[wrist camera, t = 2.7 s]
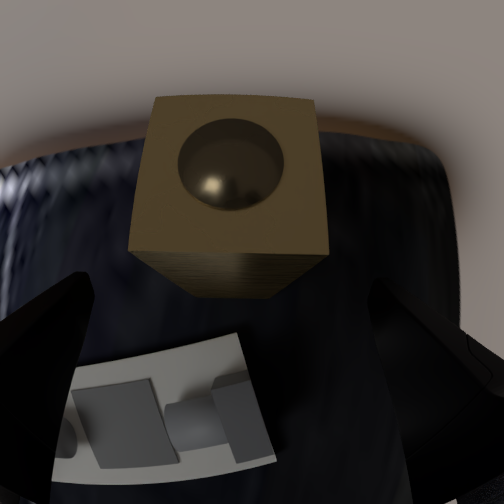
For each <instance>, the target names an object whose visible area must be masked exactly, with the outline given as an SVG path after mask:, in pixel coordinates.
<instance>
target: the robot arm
mask: <svg viewBox="0 0 504 504" xmlns="http://www.w3.org/2000/svg"><path fill="white" fill-rule="evenodd" d="M94 297H95V295H94V290H93V287H92V284H91V281H90V278H89V275H88V273H86V272H79V271H76V272H74V273H72V274H71V275H69V276H67V277H66V278H64V279H63V280H61V281H60V282H58V283H56V284H55V285H53V286H52V287H50V288H49V289H47V290H46V291H44V292H43V293H41V294H40V295H38V296H37V297H35V298H34V299H32V300H31V301H29V302H28V303H26V304H25V305H23V306H22V307H20V308H19V309H17V310H16V311H15V312H13V313H12V314H10V315H9V316H7V317H6V318H5V319H3V320H2V321H0V504H19V501H20V496H21V497H23V498H25V499H28V500H30V501H32V502H34V503H36V504H49V500H50V490H51V482H52V474H53V468H54V461H55V455H56V449H57V443H58V438H59V433H60V428H61V423H62V419H63V415H64V410H65V406H66V402H67V398H68V394H69V390H70V387H71V383H72V379H73V376H74V372H75V369H76V366H77V362H78V359H79V356H80V353H81V349H82V346H83V343H84V340H85V336H86V332H87V327H88V323H89V319H90V315H91V311H92V307H93V303H94ZM367 303H368V309H369V313H370V318H371V323H372V328H373V333H374V338H375V342H376V346H377V350H378V353H379V356H380V360H381V363H382V367H383V370H384V373H385V377H386V380H387V384H388V388H389V391H390V395H391V399H392V403H393V406H394V410H395V414H396V418H397V423H398V427H399V431H400V435H401V440H402V444H403V449H404V454H405V458H406V465H407V470H408V475H409V481H410V486H411V492H412V499H413V504H445V503H447V502H449V501H451V500H454V499H456V500H457V504H504V360H503V359H502V358H500V357H499V356H497V355H496V354H494V353H493V352H492V351H490V350H489V349H487V348H486V347H484V346H483V345H482V344H480V343H479V342H477V341H476V340H475V339H473V338H472V337H471V336H469V335H468V334H466V333H465V332H464V331H462V330H461V329H460V328H459V327H457V326H456V325H455V324H453V323H452V322H450V321H449V320H448V319H446V318H445V317H443V316H442V315H441V314H439V313H438V312H437V311H435V310H434V309H432V308H431V307H429V306H428V305H427V304H425V303H424V302H422V301H421V300H419V299H418V298H417V297H415V296H414V295H412V294H411V293H409V292H408V291H406V290H405V289H404V288H402V287H401V286H399V285H398V284H396V283H395V282H393V281H392V280H390V279H389V278H386V277H384V278H376V279H375V280H374V282H373V284H372V287H371V290H370V293H369V296H368V301H367Z"/></svg>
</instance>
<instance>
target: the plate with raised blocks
mask: <svg viewBox="0 0 504 504" xmlns="http://www.w3.org/2000/svg"><path fill="white" fill-rule="evenodd" d="M276 461H277V460H276V457H275V454H274V451H273V448H272V445H271V442H270V439H269V436H268V433H267V430H266V427H265V424H264V420H263V417H262V414H261V411H260V408H259V405H258V402H257V398H256V395H255V392H254V389H253V386H252V382H251V379H250V376H249V372H248V369H247V366H246V362H245V359H244V356H243V352H242V349H241V346H240V342H239V339H238V335H237V332H236V333H232V334H229V335H225V336H221V337H217V338H213V339H209V340H206V341H202V342H198V343H193V344H189V345H185V346H181V347H177V348H172V349H168V350H163V351H159V352H154V353H150V354H145V355H140V356H135V357H130V358H125V359H120V360H115V361H109V362H104V363H98V364H92V365H87V366H80V367H76V369H75V372H74V376H73V379H72V383H71V387H70V390H69V394H68V398H67V402H66V406H65V410H64V415H63V419H62V423H61V428H60V433H59V438H58V443H57V449H56V455H55V461H54V468H53V474H52V481H57V482H67V483H79V484H102V485H126V484H149V483H162V482H173V481H182V480H189V479H197V478H203V477H209V476H215V475H220V474H226V473H231V472H235V471H240V470H244V469H249V468H253V467H257V466H261V465H265V464H268V463H272V462H276Z"/></svg>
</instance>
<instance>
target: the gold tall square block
mask: <svg viewBox="0 0 504 504" xmlns="http://www.w3.org/2000/svg"><path fill="white" fill-rule="evenodd" d="M128 251H129V252H131V253H132V254H133V255H135V256H136V257H138V258H139V259H140V260H142V261H143V262H145V263H146V264H148V265H149V266H150V267H152V268H153V269H155V270H156V271H158V272H159V273H161V274H162V275H164V276H165V277H166V278H168V279H169V280H171V281H172V282H174V283H175V284H177V285H178V286H180V287H181V288H183V289H184V290H186V291H187V292H189V293H190V294H192V295H193V296H195V297H207V298H258V299H269V298H270V297H272V296H273V295H275V294H276V293H277V292H279V291H280V290H282V289H283V288H284V287H286V286H287V285H289V284H290V283H291V282H293V281H294V280H296V279H297V278H298V277H300V276H301V275H302V274H304V273H305V272H307V271H308V270H309V269H311V268H312V267H313V266H315V265H316V264H317V263H319V262H320V261H321V260H323V259H324V258H325V257H327V256H328V255H329V242H328V226H327V212H326V200H325V189H324V178H323V168H322V159H321V150H320V142H319V134H318V127H317V119H316V113H315V105H314V100H309V99H300V98H288V97H274V96H258V95H224V94H223V95H222V94H221V95H219V94H218V95H216V94H214V95H180V96H163V97H156V98H155V102H154V106H153V110H152V113H151V117H150V122H149V126H148V130H147V135H146V139H145V144H144V149H143V154H142V159H141V164H140V169H139V175H138V181H137V187H136V193H135V199H134V206H133V213H132V220H131V228H130V237H129V246H128Z"/></svg>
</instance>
